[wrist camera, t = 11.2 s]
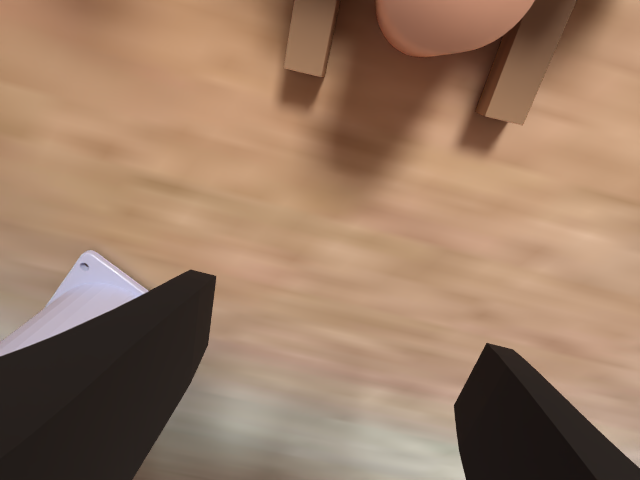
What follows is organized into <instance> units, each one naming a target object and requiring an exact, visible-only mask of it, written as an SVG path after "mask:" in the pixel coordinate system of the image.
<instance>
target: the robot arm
mask: <svg viewBox="0 0 640 480" xmlns="http://www.w3.org/2000/svg"><path fill="white" fill-rule="evenodd" d="M85 263H86V264H87V265H88V266H89V267H87V266H86V265H85ZM215 283H216V276H214V275H210V274H206V273H202V272H198V271H194V270H189V271H187V272H185V273H183V274H181V275H179V276H177V277H175V278H173V279H171V280H169V281H167V282H166V283H164V284H162V285H160V286H158V287H156V288H154V289H152V290H150V291H148V290H147V289H145V288H144V287H143V286H141V285H140V284H139V283H137V282H136V281H135V280H133V279H132V278H130V277H129V276H128V275H126V274H125V273H124V272H122V271H121V270H120V269H118V268H117V267H116V266H114V265H113V264H112V263H110V262H109V261H108V260H106V259H105V258H104V257H102V256H101V255H99V254H98V253H97V252H95V251H92V250H88V251H86V252H84V253H83V254H82V255H81V256H80V257H79V259H78V260H77V262H76V263H75V265H74V266H73V267H72V269H71V270H70V272H69V273H68V275H67V276H66V278H65V279H64V280H63V282H62V283H61V285H60V286H59V288H58V289H57V291H56V292H55V293H54V295H53V296H52V298H51V299H50V301H49V302H48V304H47V305H46V306H45V308H44V309H43V310H41V311H40V312H39V313H37V314H36V315H35V316H34V317H32V318H31V319H30V320H28V321H27V322H26V323H24V324H23V325H22V326H20V327H19V328H18V329H16V330H15V331H14V332H12V333H11V334H10V335H8V336H7V337H6V338H5V339H3V340H2V341H1V342H0V480H132V479H133V478H134V476H135V474H136V473H137V471H138V469H139V468H140V466H141V464H142V463H143V461H144V459H145V458H146V456H147V454H148V453H149V451H150V450H151V448H152V446H153V445H154V443H155V441H156V440H157V438H158V436H159V435H160V433H161V431H162V430H163V428H164V427H165V425H166V423H167V422H168V420H169V418H170V417H171V415H172V413H173V412H174V410H175V408H176V407H177V405H178V403H179V402H180V400H181V398H182V397H183V395H184V393H185V392H186V390H187V388H188V387H189V385H190V383H191V381H192V379H193V377H194V375H195V372H196V370H197V368H198V366H199V364H200V361H201V359H202V357H203V355H204V352H205V350H206V348H207V346H208V340H209V332H210V324H211V316H212V308H213V299H214V291H215ZM454 411H455V421H456V431H457V438H458V446H459V452H460V456H461V461H462V465H463V469H464V473H465V477H466V480H640V468H639V467H638V466H636V465H635V464H634V463H633V462H632V461H631V460H630V459H629V458H628V457H626V456H625V455H624V454H623V453H622V452H621V451H620V450H619V449H618V448H617V447H616V446H615V445H614V444H612V443H611V442H610V441H609V440H608V439H607V438H606V437H605V436H604V435H603V434H602V433H601V432H600V431H599V430H598V429H597V428H595V427H594V426H593V425H592V424H591V423H590V422H589V421H588V420H587V419H586V418H585V417H584V416H583V415H582V414H581V413H580V412H579V411H578V410H577V409H576V408H575V407H574V406H573V405H572V404H571V403H570V402H569V401H568V400H567V399H565V398H564V397H563V396H562V395H561V394H560V393H559V392H558V391H557V390H556V389H555V388H554V387H553V386H552V385H551V384H550V383H549V382H548V381H547V380H546V379H545V378H544V377H543V376H542V375H541V374H540V373H539V372H538V371H537V370H536V369H534V368H533V367H532V366H531V365H530V364H529V363H528V362H527V361H526V360H525V359H524V358H522V357H521V356H520V355H519V354H518V353H516V352H515V351H514V350H513V349H509V348H505V347H501V346H497V345H493V344H489V343H486V345H485V347H484V349H483V351H482V353H481V355H480V357H479V359H478V361H477V363H476V364H475V366H474V368H473V370H472V372H471V374H470V376H469V378H468V380H467V382H466V384H465V385H464V387H463V389H462V391H461V393H460V395H459V397H458V399H457V401H456V403H455V405H454Z"/></svg>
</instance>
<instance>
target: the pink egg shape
mask: <svg viewBox="0 0 640 480" xmlns="http://www.w3.org/2000/svg"><path fill="white" fill-rule="evenodd" d="M534 1H535V0H375V9H376V17H377V21H378V24H379V27H380V29H381V31H382V33H383V35H384V37H385V38H386V39H387V41H388V42H389V43H390V44H391V45H392V46H393V47H394V48H396V49H397V50H398V51H400V52H402V53H404V54H407V55H409V56H414V57H431V56H439V55H446V54H453V53H461V52H466V51H471V50H475V49H478V48H481V47H483V46H486V45H488V44H490V43H492V42H494V41H495V40H497V39H498V38H500V37H501V36H503V35H504V34H506V33H507V32H508V31H509V30H510V29H512V28H513V27H514V26H515V25H516V24H517V23H518V22H519V21H520V20H521V19H522V18H523V16H524V15H525V14H526V13H527V11H528V10H529V9H530V7H531V6H532V4H533V3H534Z"/></svg>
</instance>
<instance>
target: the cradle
mask: <svg viewBox="0 0 640 480" xmlns="http://www.w3.org/2000/svg"><path fill="white" fill-rule="evenodd" d="M576 1H577V0H535V1H534V3H533V4H532V6H531V7H530V9H529V10H528V11H527V13H526V14H525V15H524V16H523V18H522V19H521V20H520V21H519V22H518V23H517V24H516V25H515V26H514V27H513V28H512V29H510V30H509V31H508V32H507V33H506V34H504V35H503V38H502V41H501V43H500V46H499V49H498V51H497V54H496V57H495V59H494V62H493V65H492V67H491V70H490V73H489V75H488V78H487V81H486V84H485V86H484V89H483V92H482V94H481V97H480V100H479V102H478V105H477V108H476V110H475V112H476V113H478V114H481V115H483V116H486V117H490V118H494V119H498V120H503V121H507V122H511V123H515V124H519V125H523V124H524V122H525V119H526V117H527V115H528V112H529V110H530V108H531V105H532V103H533V101H534V98H535V96H536V94H537V91H538V89H539V87H540V84H541V82H542V80H543V78H544V75H545V73H546V71H547V68H548V66H549V64H550V61H551V59H552V57H553V54H554V52H555V50H556V47H557V45H558V43H559V40H560V38H561V36H562V34H563V31H564V29H565V27H566V24H567V22H568V20H569V17H570V15H571V13H572V10H573V8H574V6H575V3H576ZM339 4H340V0H294V6H293V12H292V18H291V25H290V31H289V37H288V44H287V50H286V56H285V63H284V68H285V69H289V70H293V71H297V72H301V73H306V74H310V75H314V76H318V77H324V76H325V73H326V68H327V63H328V58H329V54H330V49H331V44H332V39H333V34H334V29H335V24H336V19H337V14H338V9H339Z"/></svg>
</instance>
